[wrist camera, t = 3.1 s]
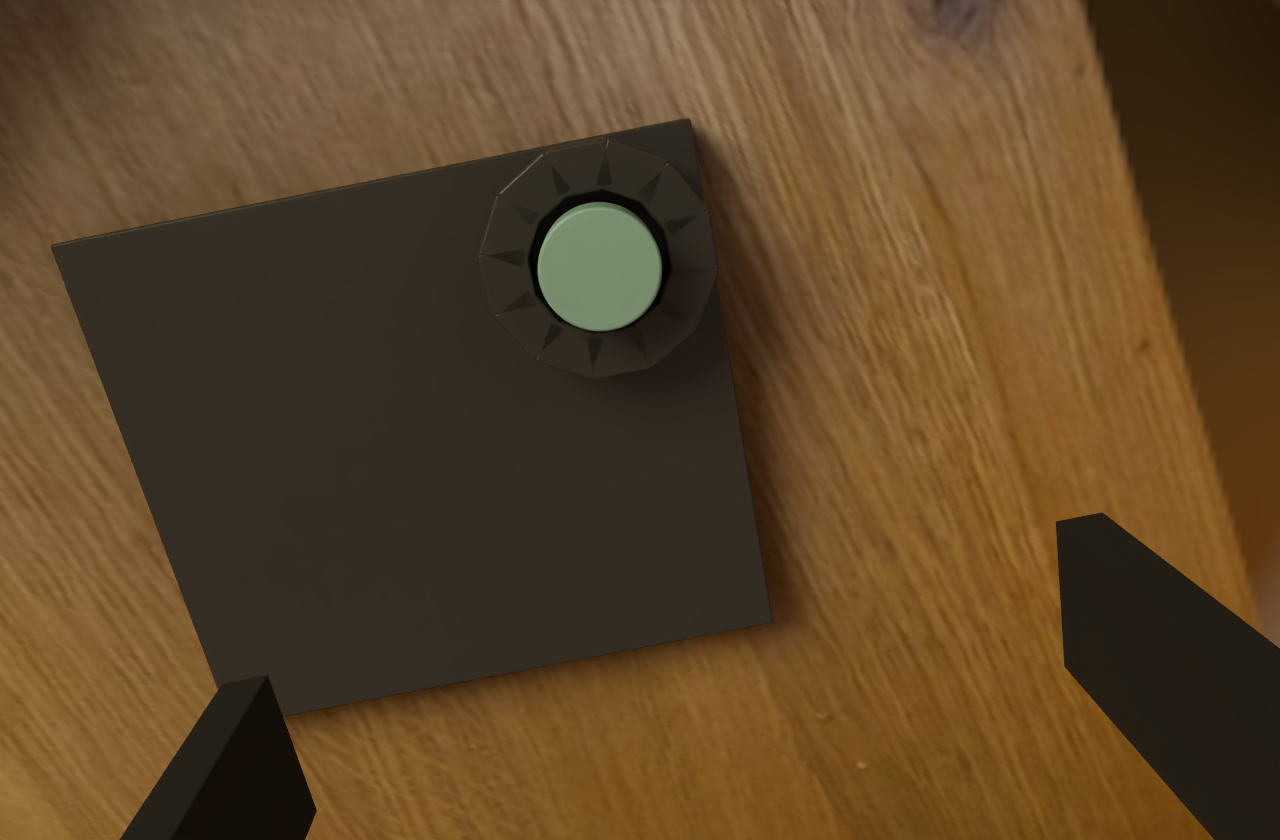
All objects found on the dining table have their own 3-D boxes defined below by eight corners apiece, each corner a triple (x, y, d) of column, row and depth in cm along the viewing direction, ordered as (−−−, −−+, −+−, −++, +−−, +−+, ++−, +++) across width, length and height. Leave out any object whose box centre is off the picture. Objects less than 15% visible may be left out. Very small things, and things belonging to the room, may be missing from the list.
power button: (646, 191, 24) (650, 195, 22) (668, 307, 25) (672, 319, 23) (529, 214, 24) (524, 220, 22) (554, 329, 25) (552, 342, 23)
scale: (685, 118, 26) (696, 117, 23) (765, 601, 30) (783, 650, 27) (77, 238, 26) (13, 253, 23) (247, 700, 31) (211, 760, 28)
